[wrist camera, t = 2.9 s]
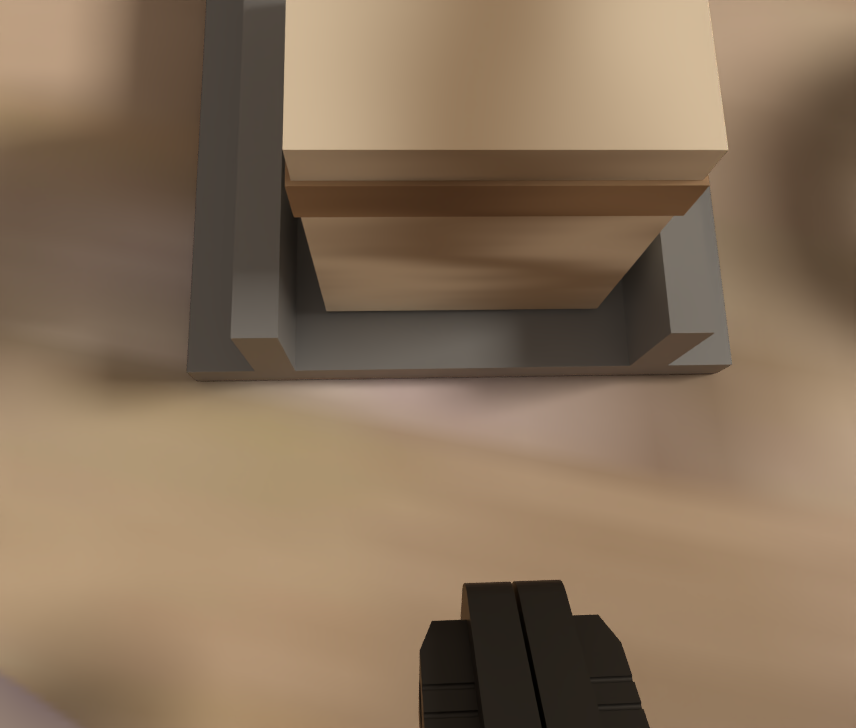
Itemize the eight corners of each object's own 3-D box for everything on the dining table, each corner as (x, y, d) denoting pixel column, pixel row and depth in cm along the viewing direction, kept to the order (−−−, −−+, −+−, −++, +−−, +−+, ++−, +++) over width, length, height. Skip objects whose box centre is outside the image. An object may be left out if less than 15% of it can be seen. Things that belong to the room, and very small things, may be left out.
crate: (580, 69, 21) (685, -204, 14) (601, 312, 20) (735, 155, 12) (324, 68, 21) (285, -213, 13) (322, 315, 19) (275, 156, 12)
